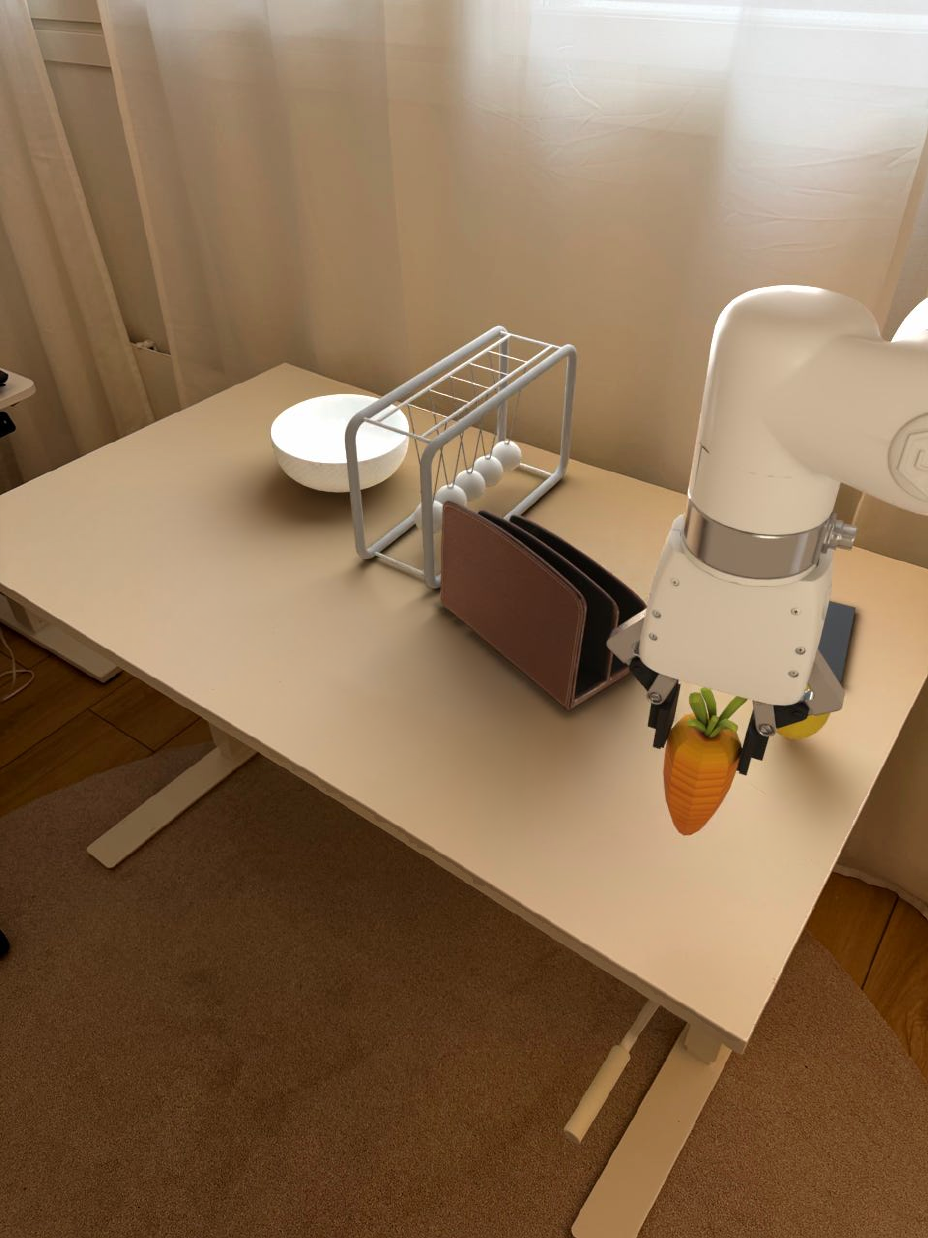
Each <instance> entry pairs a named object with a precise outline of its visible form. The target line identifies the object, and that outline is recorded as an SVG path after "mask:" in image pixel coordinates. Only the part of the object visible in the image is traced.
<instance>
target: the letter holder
mask: <svg viewBox="0 0 928 1238" xmlns="http://www.w3.org/2000/svg"><path fill="white" fill-rule="evenodd" d="M442 510H443V511H442V530H441V541H440V573H441V586H440V594H439V595H440V596H439V598H440V599H439V600H440V604H441V605H442V606H443V607H444V608H446V609H447V610H448V611H450V613H452V614H453V615H454V616H456V617H457V618H458V619H459V620H461V621H462V622H463V623H464V624H466V626H468V628H470V629H472V630H473V631H474V632H475V633H476V634H477V635H478V636H480V637H481V638H482V639H483V640H484V641H485V642H487V643H488V644H489V645H490V646H491V647H492V648H494V650H496V651H497V652H498V653H500V655H502V656H503V657H504V658H505V659H507V660H508V661H509V662H510V663H511V664H512V665H514V667H516V668H517V669H519V670H520V671H521V672H522V673H523V674H524V675H526V676H527V678H529V679H531V680H532V681H533V682H534V683H535V684H536V685H538V686H539V687H540V688H541V689H542V690H543V691H544V692H546V693H547V694H548V695H550V696H551V697H552V698H553V699H554V700H556V701H557V702H558V703H559V704H560V705H561V706H562V707H563V708H565V709H566V711H568V712H571V710H573V709H574V708H575V707H577V706H579V705H580V704H582V703H584V702H586V701H587V700H588V699H590V698H592V697H593V696H595V695H596V694H598V693H600V692H601V691H603V690H605V689H606V688H608V687H609V686H611V685H612V684H614V683H616V682H617V681H619V680H621V679H622V678H623V677H626V676H627V675H629V674H631V672H630V671H629V665H627V664H626V663H623V662H622V661H621V660H620V659H619V658H618V657H617V656H616V655H615V654H614V653H613V652H612V651H611V650H610V649H609V648H608V647H607V644H606V643H607V640H608V638H609V636H610V634H611V632H612V631H613V630H614V629H615V628H616V627H618V626H620V625H621V624H623V623H624V622H626V621H627V620H629V619H630V618H632V617H634V616H635V615H637V614H638V613H640V612H641V611H643V610H644V609H646V608H647V604H646V602H645V601H644V600H643V599H642V598H641V596H639V594H637V593H636V592H635V591H634V590H633V589H632V588H631V587H630V586H628V585H627V584H626V583H624V582H623V581H622V580H621V579H620V578H618V576H616V575H615V574H613V573H612V572H610V571H609V570H608V569H606V568H605V567H604V566H602V565H601V564H600V563H599V562H597V561H596V560H594V559H593V558H591V557H590V556H589V555H587V554H586V553H584V552H583V551H582V550H580V549H578V548H577V547H576V546H574V545H573V544H571V543H570V542H568V541H567V540H565V539H564V538H562V537H560V536H559V535H557V534H556V533H554V532H552V531H551V530H550V529H548V528H546V527H544V526H542V525H540V524H539V523H537V522H535V521H533V520H531V519H529V518H527V517H525V516H522V515H520V516H519V515H516V514H514V515H511V516H510V519H509V521H507V520H506V519H504V517H502V516H500V515H497V514H495V513H493V512H492V511H489V510H487V509H479V510H478V511H477V512H475V511H474V510H472V509H469V508H468V507H467V506H466V507H464V506H462V505H460V504H458V503H456V502H453V501H446V502H445V503H444V505H443V509H442ZM639 642H640V641H639Z"/></svg>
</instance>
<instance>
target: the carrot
mask: <svg viewBox="0 0 928 1238" xmlns="http://www.w3.org/2000/svg"><path fill="white" fill-rule="evenodd" d="M699 690H700V692H697V691H696V692H691V693H689V696H688V705H689V706H690V709H691V710H692V713H686V714H685V713H684V715H682V717H681V718H680V719H679V720H678V721H677V722H676V723H675V724H674V725H673V726H672V728H671V730H670V732H669V733H668V738H667V741H666V743H665V753H664V761H663V771H662V772H663V774H662V776H663V787H664V789H663V790H664V797H665V802H666V805H667V809H668V812H669V816H670V819H671V821H672V824H673V826H674V827H675V829H676V831H677V832H678V833H679V834H681V835H682V836H683V837H684V836H686V837H687V836H691V835H693V834H695V833H697V832H699V831H700V830H701V829H702V828H704V826H706V825H707V823H708V822H709V821H710V820H711V818H712V817H713V816H714V815H715V814H716V812H717V811H718V809H719V808H720V806H721V805H722V804H723V801H725V798H726V796H727V795H728V793H729V791H730V789H731V787H732V784H733V781H734V779H735V776H736V773H737V771H736V770H737V766H738V762H739V758H740V754H741V750H742V747H743V744H742V742H741V740H740V737H739V734H738V733H737V732H738V728H739V725H738V724H736V722H734V721H732V720H731V719H730V718H731V717H733V715H734V714H735V713H736V712H737V711H738V709H739V708H740V707H742V706H743V705H744V704H745V703H746V702H747V701H748V700H749V699H746V698H742V697H739V696H735V697H734V698H732V700H730V702H729V703H728V704H727V706H726V707H725V708H724V709H723V711H722V712H721V713H720V715H719V716H718V715H717V713H718V711H717V702H716V699H715V695H714V693H713V691H712V689H710V688H706V687H703V686H701V687H700V688H699Z"/></svg>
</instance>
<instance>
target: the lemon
mask: <svg viewBox="0 0 928 1238" xmlns="http://www.w3.org/2000/svg"><path fill="white" fill-rule="evenodd" d="M808 689H810V688H809V686H808V684H807V686H806V688H805V691H808ZM830 716H831V713H826V714H822V715H817V716H814V715H810V716H808V717H807V719H806V720H804V721H801V722H797V723H794V724H791V725H788V726H785V727H782V728H779V729H777V730H776V733H777V734H778V735H780V736H781V737H785V738H787V739H791V740H802V739H807V738H809V737H812V736H813V735H815V734H817V733H819V732H820V730H821V729H822V728H823V727H824V726H825V725H826V723H827V722H828V720H829V717H830Z"/></svg>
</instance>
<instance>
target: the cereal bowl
mask: <svg viewBox="0 0 928 1238" xmlns="http://www.w3.org/2000/svg"><path fill="white" fill-rule="evenodd" d="M379 399H380V398H377V397H372V396H368V395H361V394H348V393H347V394H346V393H345V394H344V393H343V394H331V395H324V396H317V397H313V398H310V399H307V400H304V401H301V402H299V403H296V404H294V405H292V406H291V407H289V408H287V409H286V410H284V411H283V412H281V413H280V414H279V415H278V416H277V417H276V418H275V419H274V421H273V422H272V424H271V426H270V442H271V447H272V450H273V454H274V457H275V459H276V461H277V463H278V465H279V467H280V469H282V471H283V472H285V474H286V475H288V476H289V478H290V479H293V480H294V481H295V482H296V483H298V484H300V485H302V486H304V487H308V488H309V489H313V490H315V491H322V492H326V493H327V492H328V493H348V492H349V493H350V489H349V479H348V470H347V460H346V450H345V431H346V428H347V425H348V423H349V421H350V420H351V418H352V417H353V416H354V415H355V414H356V413H358V412H359V411H361V410H363V409H364V408H366V407H367V406H369V405H371V404H372V403H374V402H375V401H377V400H379ZM395 407H396V406H395V405H393V404H392V405H390V406H389V407H387V408H385V409H384V410H382V411H381V412H379V413H378V414H376V415H374V416H373V417H371V418H370V419H371V420H374V421H375V420H377V419H378V418H380V417H381V416H383V415H384V414H386V413H387V412H389V411H391V410H392V409H394V408H395ZM380 423H383V424H386V425H389V426H391V427H394V428H397V429H400V430H403V431H406V432H409V433H410V427H409V422H408V419H407V417H406V415H405V414H404V413H403V412H402V411H401V409H399V410H398V411H396V412H395V413H393V414H392V415H390V416H389V417H387V418H386V419H384V420H382V421H381V422H380ZM409 444H410V437H408V436H405V435H402V434H399V433H396V432H393V431H391V430H388V429H385V428H382V427H379V426H376V425H373V424H370V423H368V422H363V423H362V424H361V425H360V427H359V428H358V431H357V434H356V448H357V458H358V469H359V480H360V491H362V490H365V489H369V488H371V487H374V486H376V485H379V484H380V483H382V482H384V481H385V480H387V479H389V478H390V477H391V476H392V475H394V473H395V472H397V470H398V469H399V468H400V466H401V465H402V464H403V462H404V460H405V458H406V455H407V451H408V449H409Z"/></svg>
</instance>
